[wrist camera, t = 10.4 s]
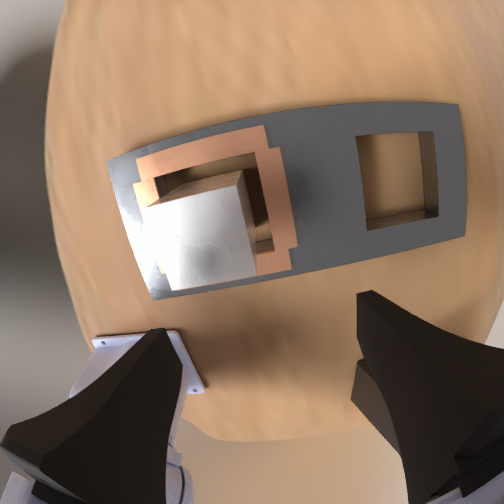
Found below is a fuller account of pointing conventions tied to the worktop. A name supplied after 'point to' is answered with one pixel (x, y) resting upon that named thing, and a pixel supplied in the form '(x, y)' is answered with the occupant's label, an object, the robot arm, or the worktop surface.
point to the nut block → (205, 231)
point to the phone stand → (373, 403)
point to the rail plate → (306, 186)
